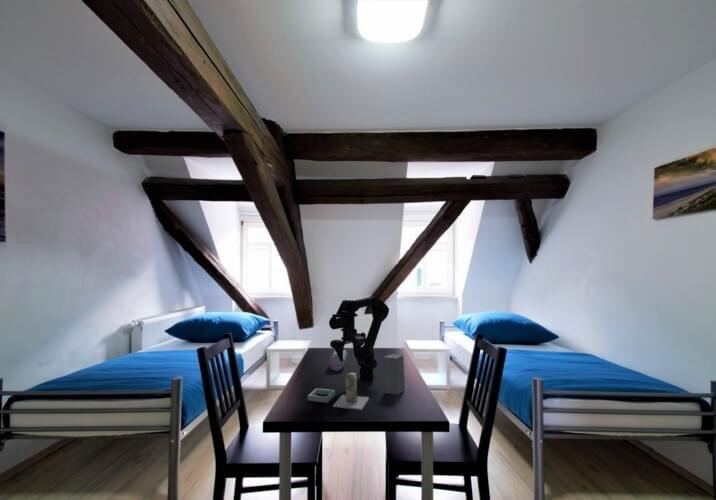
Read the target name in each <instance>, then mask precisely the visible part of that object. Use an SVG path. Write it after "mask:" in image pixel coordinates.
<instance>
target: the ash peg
mask: <svg viewBox="0 0 716 500" xmlns="http://www.w3.org/2000/svg"><path fill="white" fill-rule="evenodd" d="M357 385H358V384H357V372H346V373H345V395H346V402H347V403H356V402H357V396H358V394H357V393H358V386H357Z"/></svg>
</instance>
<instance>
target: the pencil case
mask: <svg viewBox="0 0 716 500" xmlns="http://www.w3.org/2000/svg"><path fill="white" fill-rule="evenodd" d="M347 357H348V353H347V350H346V348H345V349H344V350H343V362H341V361H340V359H339V357H338V355H337V353H336V351H335V349H334V348H333V352H332V355H331V356H330V357H329V360H328V365H329V367H330V369H331V370H333V371H335V372H336V371H337V372H338V371H341V370H342V369H343V368H344V366H345V364H346V359H347Z"/></svg>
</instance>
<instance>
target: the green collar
mask: <svg viewBox="0 0 716 500" xmlns="http://www.w3.org/2000/svg"><path fill="white" fill-rule="evenodd" d="M335 395H336V390H335V389H328V388H315V389H313V390H312V392H310V393H309V394H308V395H307V401H309V402H319V403H326V404H329V402H330V401H331V400H332V399H333V398H334V397H335Z"/></svg>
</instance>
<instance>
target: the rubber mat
mask: <svg viewBox="0 0 716 500" xmlns="http://www.w3.org/2000/svg"><path fill="white" fill-rule="evenodd" d="M369 400H370V397H368V396H358V395H357V402H356V403H347V402H346V394H342V395H341V396H340V397H339V398H338V399H337V401H335V403H333V405H332V407H333V408H338V409H339V408H341V409H349V410H357V411H359V410H360V411H363V409H364V407H365V406H366V404H367V403H368V401H369Z"/></svg>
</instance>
